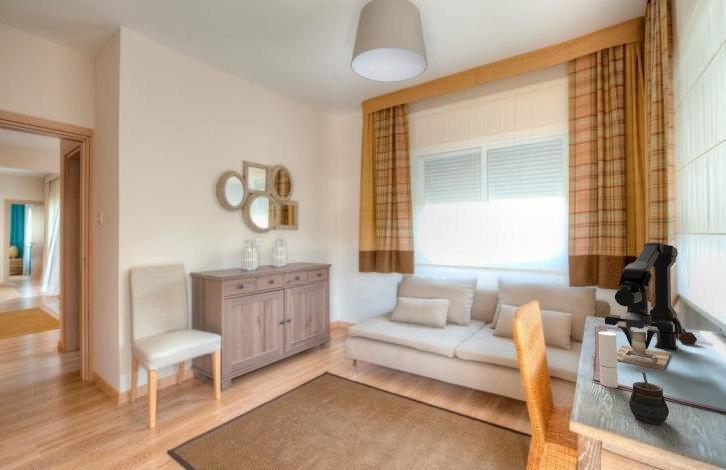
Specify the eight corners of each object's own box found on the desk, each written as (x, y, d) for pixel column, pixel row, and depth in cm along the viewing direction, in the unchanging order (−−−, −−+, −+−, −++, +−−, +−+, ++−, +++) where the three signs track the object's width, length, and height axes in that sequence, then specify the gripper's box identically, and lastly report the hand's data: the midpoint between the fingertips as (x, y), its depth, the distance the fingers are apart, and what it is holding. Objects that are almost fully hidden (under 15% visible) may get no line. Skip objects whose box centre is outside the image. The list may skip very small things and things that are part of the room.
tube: (618, 388, 99) (616, 336, 100) (600, 385, 102) (598, 334, 102) (617, 383, 103) (615, 332, 103) (599, 380, 105) (598, 331, 105)
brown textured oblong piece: (679, 340, 150) (690, 348, 137) (666, 333, 152) (675, 340, 139) (688, 329, 149) (700, 336, 136) (674, 322, 151) (684, 328, 138)
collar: (627, 352, 127) (627, 349, 127) (656, 357, 121) (656, 354, 121) (622, 358, 121) (622, 355, 121) (652, 364, 115) (652, 360, 115)
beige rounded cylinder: (633, 352, 124) (632, 329, 124) (647, 354, 121) (646, 331, 121) (631, 354, 121) (630, 332, 121) (645, 357, 118) (644, 334, 118)
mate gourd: (636, 425, 80) (634, 381, 80) (624, 410, 87) (622, 370, 87) (675, 430, 78) (673, 384, 78) (659, 414, 85) (657, 373, 85)
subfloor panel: (623, 346, 136) (623, 344, 136) (670, 354, 126) (670, 352, 126) (611, 359, 122) (611, 357, 122) (663, 369, 112) (663, 367, 112)
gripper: (600, 303, 123) (601, 347, 122) (670, 310, 109) (672, 359, 109) (607, 299, 130) (608, 340, 130) (673, 304, 117) (675, 351, 117)
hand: (639, 347), depth 121 cm, fingers closed on beige rounded cylinder, 4 cm apart
